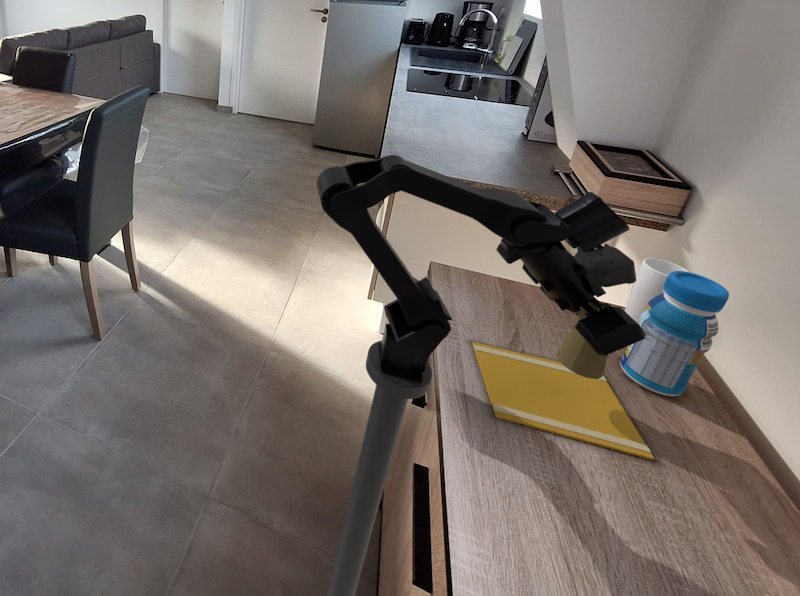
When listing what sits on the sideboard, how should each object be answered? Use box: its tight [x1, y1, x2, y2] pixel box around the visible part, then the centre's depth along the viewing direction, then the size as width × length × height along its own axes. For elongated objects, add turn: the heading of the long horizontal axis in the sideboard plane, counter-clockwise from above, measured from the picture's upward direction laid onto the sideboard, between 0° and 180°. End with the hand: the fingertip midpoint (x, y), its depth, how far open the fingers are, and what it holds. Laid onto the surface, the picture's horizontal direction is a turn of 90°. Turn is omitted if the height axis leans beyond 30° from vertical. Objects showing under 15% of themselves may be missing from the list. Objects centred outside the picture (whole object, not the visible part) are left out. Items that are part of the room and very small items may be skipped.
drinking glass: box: [623, 257, 690, 324], centre depth 86 cm, size 7×7×15 cm
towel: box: [471, 341, 655, 461], centre depth 74 cm, size 20×16×1 cm
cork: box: [555, 301, 609, 379], centre depth 70 cm, size 6×6×11 cm
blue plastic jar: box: [619, 271, 730, 397], centre depth 75 cm, size 8×8×20 cm
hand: (603, 332), depth 70 cm, fingers closed on cork, 5 cm apart
